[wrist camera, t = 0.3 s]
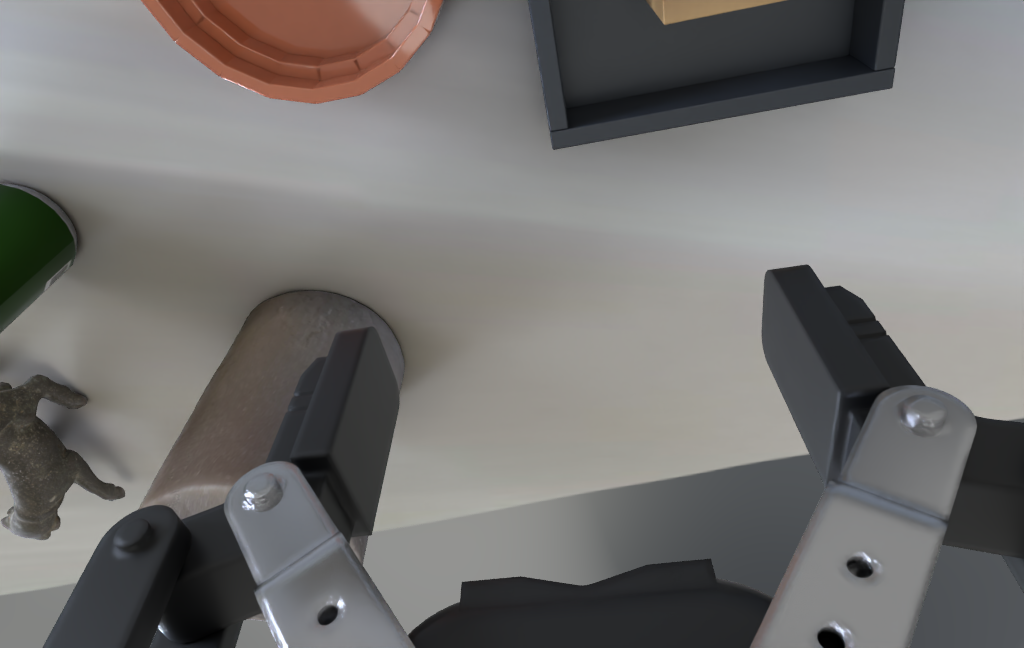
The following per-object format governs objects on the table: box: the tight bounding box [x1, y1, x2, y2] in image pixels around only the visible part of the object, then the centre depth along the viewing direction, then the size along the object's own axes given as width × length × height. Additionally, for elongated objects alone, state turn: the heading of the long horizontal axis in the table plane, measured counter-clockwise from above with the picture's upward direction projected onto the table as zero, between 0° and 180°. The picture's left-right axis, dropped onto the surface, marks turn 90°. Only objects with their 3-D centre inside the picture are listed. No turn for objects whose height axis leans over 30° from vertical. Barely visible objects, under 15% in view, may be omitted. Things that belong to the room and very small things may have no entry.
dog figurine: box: [0, 375, 125, 540], centre depth 39 cm, size 12×6×7 cm, turn 4°
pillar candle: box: [138, 291, 404, 621], centre depth 32 cm, size 10×10×15 cm
